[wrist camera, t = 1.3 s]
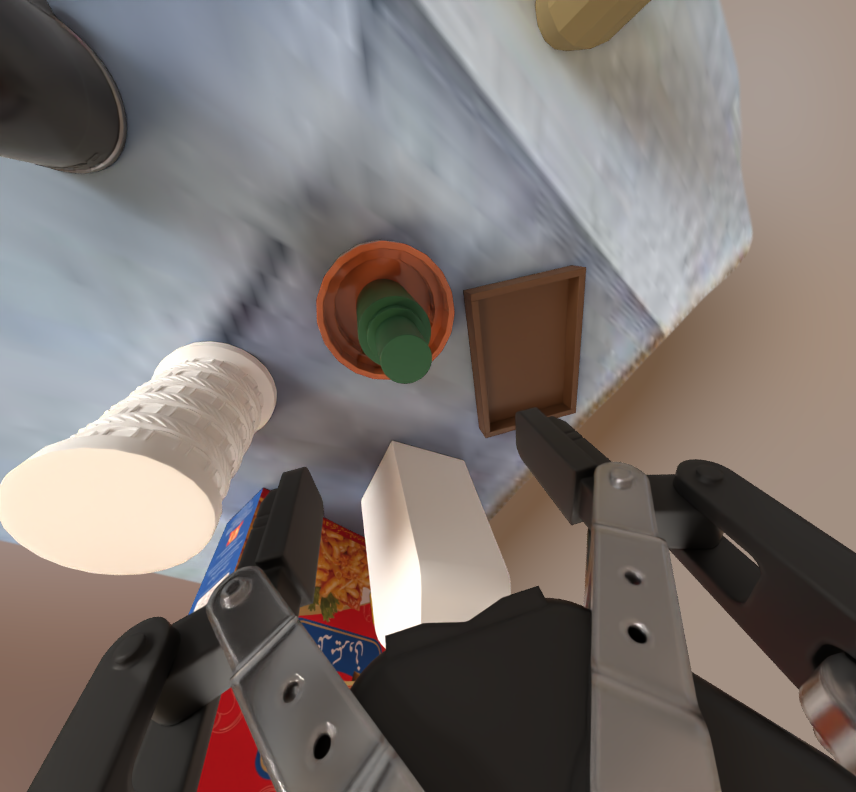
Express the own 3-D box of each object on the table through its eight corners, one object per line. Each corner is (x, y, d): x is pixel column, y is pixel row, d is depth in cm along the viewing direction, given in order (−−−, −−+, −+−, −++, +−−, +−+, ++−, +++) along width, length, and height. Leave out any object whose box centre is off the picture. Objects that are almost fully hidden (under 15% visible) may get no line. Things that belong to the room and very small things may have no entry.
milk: (464, 460, 47) (564, 666, 25) (430, 514, 51) (492, 734, 29) (391, 440, 43) (435, 669, 20) (360, 500, 47) (369, 749, 24)
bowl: (302, 255, 31) (293, 259, 26) (431, 228, 32) (443, 227, 28) (343, 374, 37) (342, 393, 33) (449, 347, 38) (461, 362, 34)
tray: (463, 290, 36) (470, 294, 33) (572, 265, 37) (586, 267, 35) (479, 428, 45) (485, 438, 43) (565, 404, 47) (575, 412, 44)
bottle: (349, 285, 32) (346, 326, 18) (405, 273, 33) (444, 303, 19) (364, 340, 35) (373, 410, 21) (416, 327, 36) (456, 388, 22)
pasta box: (407, 558, 55) (449, 812, 31) (375, 583, 57) (393, 845, 32) (263, 487, 42) (143, 833, 18) (227, 523, 43) (71, 887, 19)
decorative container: (271, 343, 34) (202, 438, 18) (281, 432, 39) (235, 567, 23) (144, 338, 31) (-65, 446, 15) (173, 435, 36) (39, 589, 21)
